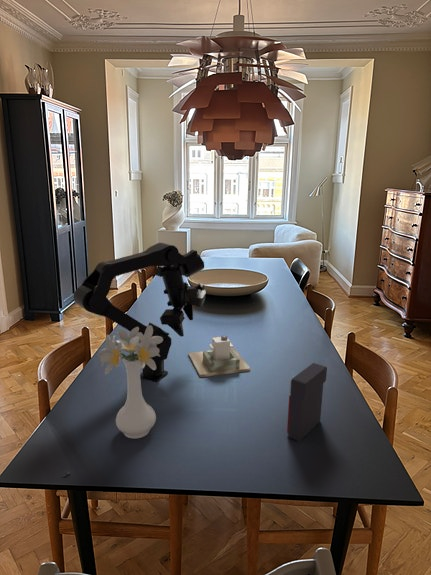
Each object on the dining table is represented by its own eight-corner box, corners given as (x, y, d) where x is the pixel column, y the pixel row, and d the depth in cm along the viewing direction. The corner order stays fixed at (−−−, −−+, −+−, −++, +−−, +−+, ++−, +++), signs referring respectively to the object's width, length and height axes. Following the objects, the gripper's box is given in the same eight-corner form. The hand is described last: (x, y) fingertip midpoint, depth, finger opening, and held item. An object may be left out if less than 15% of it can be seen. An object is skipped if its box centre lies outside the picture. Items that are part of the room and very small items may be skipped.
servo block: (212, 368, 128) (212, 340, 125) (208, 363, 131) (208, 335, 129) (233, 365, 130) (233, 338, 127) (229, 360, 133) (229, 333, 131)
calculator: (306, 415, 105) (310, 361, 101) (322, 421, 102) (327, 366, 98) (284, 436, 97) (288, 377, 93) (301, 443, 94) (305, 384, 90)
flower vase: (169, 409, 107) (167, 318, 101) (154, 456, 90) (150, 349, 83) (120, 407, 108) (114, 316, 101) (95, 453, 90) (86, 347, 84)
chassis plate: (199, 377, 124) (199, 365, 123) (188, 355, 139) (188, 344, 138) (250, 370, 128) (250, 358, 127) (233, 350, 143) (234, 339, 142)
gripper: (189, 297, 112) (202, 344, 119) (208, 267, 128) (218, 311, 135) (152, 299, 116) (167, 345, 123) (175, 270, 132) (187, 312, 138)
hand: (186, 327), depth 129 cm, fingers open, 9 cm apart
